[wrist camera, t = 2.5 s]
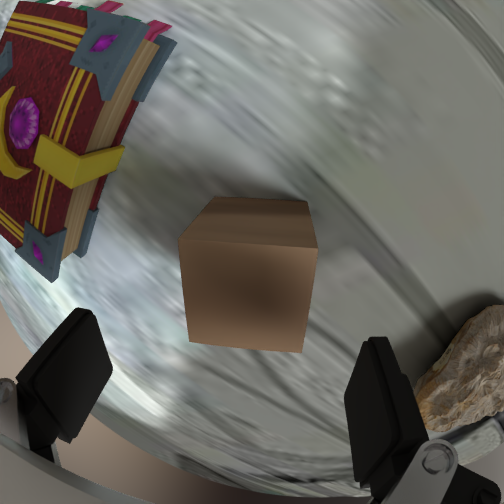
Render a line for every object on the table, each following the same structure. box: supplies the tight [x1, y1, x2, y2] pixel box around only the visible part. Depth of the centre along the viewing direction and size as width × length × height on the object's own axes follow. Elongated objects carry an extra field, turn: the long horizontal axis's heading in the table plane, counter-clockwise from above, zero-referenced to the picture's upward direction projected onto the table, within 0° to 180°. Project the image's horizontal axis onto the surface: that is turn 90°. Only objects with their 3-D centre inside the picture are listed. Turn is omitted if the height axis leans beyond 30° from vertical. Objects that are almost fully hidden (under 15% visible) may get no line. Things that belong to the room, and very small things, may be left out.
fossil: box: [413, 305, 504, 432], centre depth 17 cm, size 12×8×10 cm
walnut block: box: [178, 196, 318, 353], centre depth 14 cm, size 5×5×6 cm
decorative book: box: [0, 0, 177, 283], centre depth 12 cm, size 11×16×5 cm
